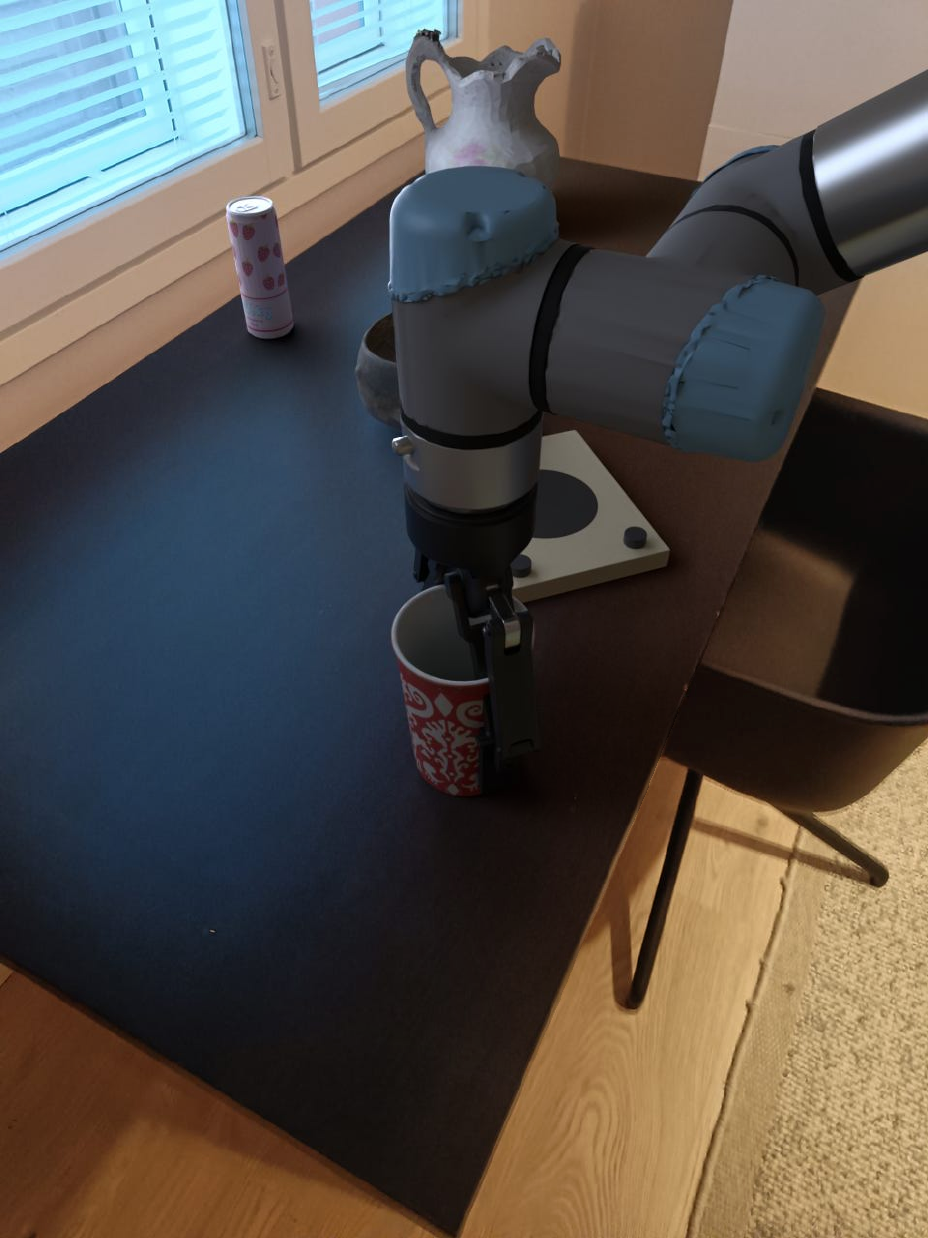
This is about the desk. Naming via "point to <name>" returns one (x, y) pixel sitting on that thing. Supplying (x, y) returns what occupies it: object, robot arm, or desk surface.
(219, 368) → the desk surface
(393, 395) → the bowl
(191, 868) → the desk surface
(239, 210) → the beverage can
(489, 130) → the ceramic pitcher
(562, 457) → the stove
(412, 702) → the mug
